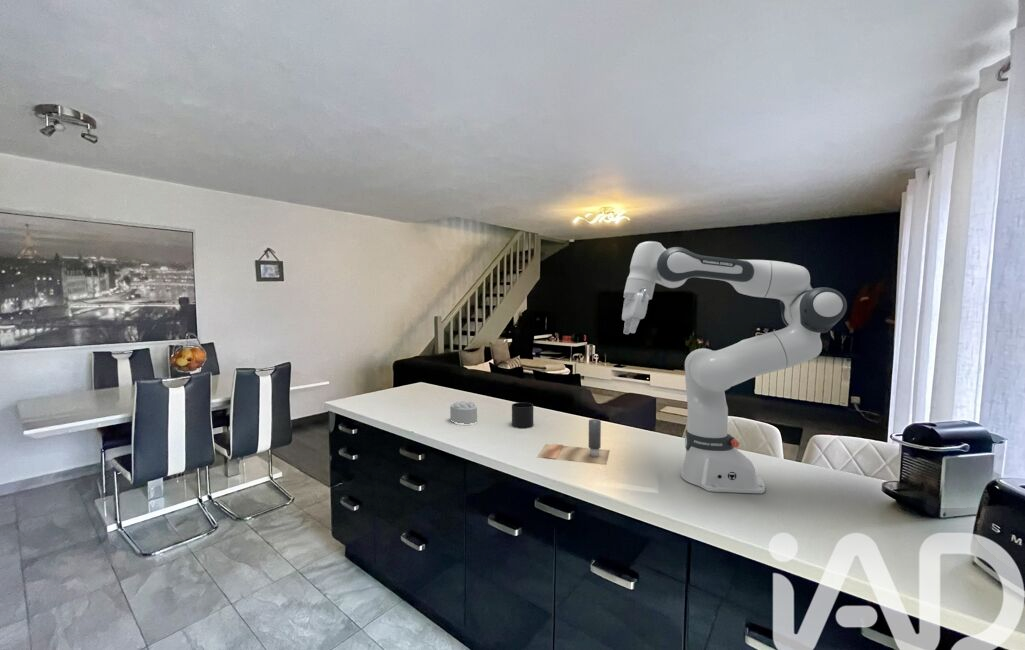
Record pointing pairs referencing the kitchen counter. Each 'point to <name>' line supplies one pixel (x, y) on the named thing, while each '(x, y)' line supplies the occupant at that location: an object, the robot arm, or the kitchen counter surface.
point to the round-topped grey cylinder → (594, 437)
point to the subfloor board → (572, 454)
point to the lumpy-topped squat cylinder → (463, 412)
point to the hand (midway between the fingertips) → (628, 333)
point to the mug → (522, 415)
